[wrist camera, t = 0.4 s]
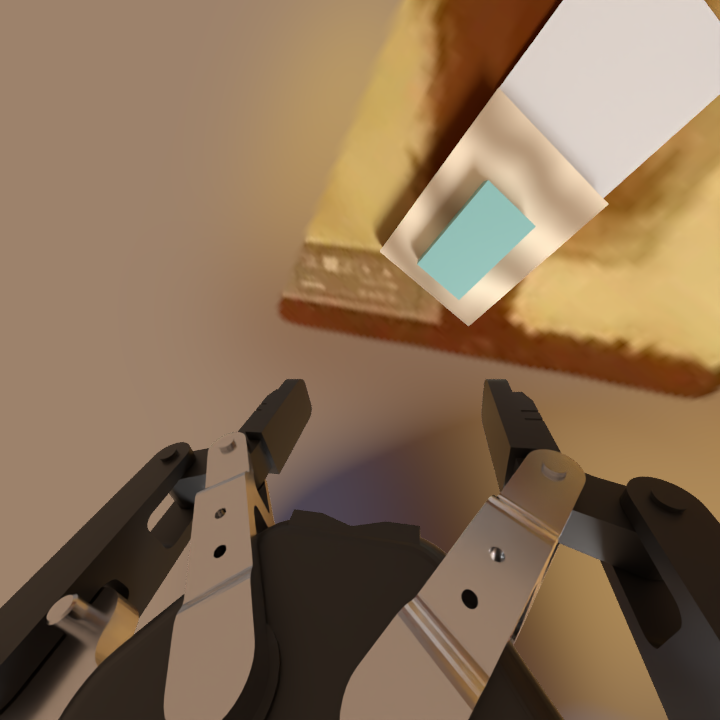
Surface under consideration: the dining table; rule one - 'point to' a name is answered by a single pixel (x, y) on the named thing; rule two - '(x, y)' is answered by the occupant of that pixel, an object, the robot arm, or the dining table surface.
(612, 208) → the dining table surface
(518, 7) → the dining table surface
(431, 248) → the teal rectangular block
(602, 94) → the mat
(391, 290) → the dining table surface
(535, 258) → the cream flat block
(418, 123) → the dining table surface
